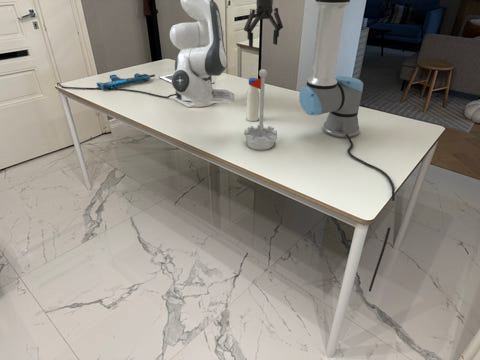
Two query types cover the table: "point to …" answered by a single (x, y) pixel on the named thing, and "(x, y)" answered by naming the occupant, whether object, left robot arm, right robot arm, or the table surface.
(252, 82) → the cap
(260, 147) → the flag stand
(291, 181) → the table surface
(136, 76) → the submachine gun
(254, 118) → the bottle
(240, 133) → the table surface
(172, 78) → the left robot arm
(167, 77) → the tablet
